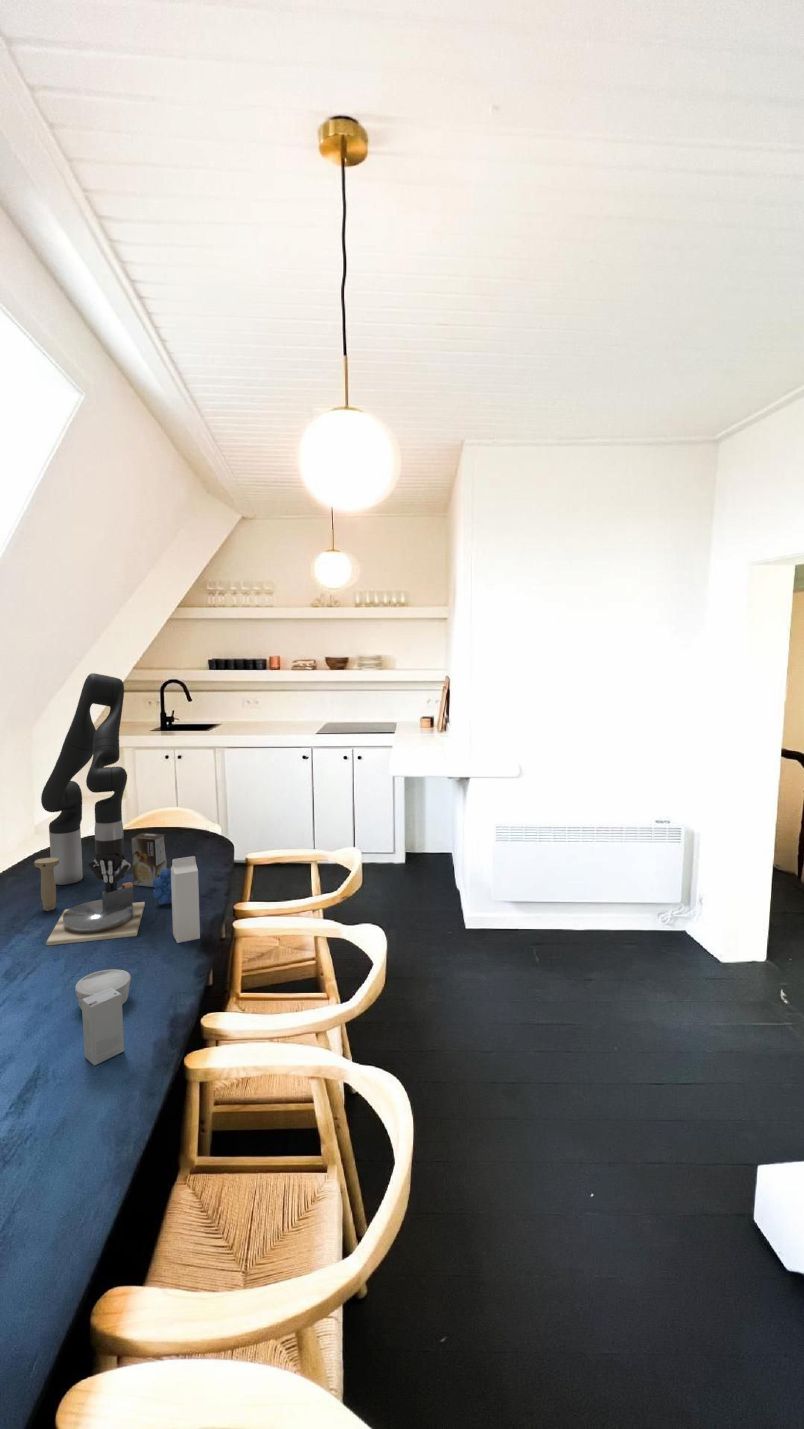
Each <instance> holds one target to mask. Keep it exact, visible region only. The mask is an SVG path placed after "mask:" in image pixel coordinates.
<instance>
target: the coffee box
mask: <svg viewBox="0 0 804 1429" xmlns="http://www.w3.org/2000/svg"><path fill="white" fill-rule="evenodd" d="M131 851H132V871H133V873H132V874H133V886H138V887H139V886H140V887H141V886H142V887H151V888H155V887H154V886H153V881H154V880H155V879H156V878H159V877H160V873H161V871H162V870H163V869H168V862H167V860H168V859H167V857H168V856H167V837H166V834H160V833H152V832H151V833H149V832H142V833H141V832H140V833H139V834H136V835H134V836H133V837H131Z"/></svg>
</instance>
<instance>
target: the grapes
mask: <svg viewBox="0 0 804 1429" xmlns="http://www.w3.org/2000/svg"><path fill="white" fill-rule="evenodd" d="M153 886H154V887H153V888H154V889H153V890H152V892H151V894H152V897H153V898H154V899H158V903H159V904H160V905H165V904H167V903H168V902H169V903H170V904H171V905H172V890H171V869H169V868H167V869H163V870H162V871H161V873H160V877H159V878H156V879H155V880H154V881H153Z"/></svg>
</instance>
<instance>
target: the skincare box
mask: <svg viewBox="0 0 804 1429" xmlns="http://www.w3.org/2000/svg"><path fill="white" fill-rule="evenodd" d="M81 1001H82V1009H81V1012H82V1030H83V1048H84V1058H86V1059H87V1060H88V1062H90V1063H91V1064H92V1065H93V1066H96V1065H99V1064H101V1063H103V1062H105V1061H106V1060H110V1059H111V1058H112V1057H115V1056H117V1055H119V1054H121V1053H123V1052H124V1051H125V1040H124V1039H125V1036H124V1035H125V1034H124V1020H123V1019H124V1016H123V1014H124V1013H123V1005H122V995H121V994H120V993H119V992H118V991H116V990H115V989H113V988H109V989H106V990H104V991H101V992H99V993H96V994H94V995H92V996H89V997H87V998H84V999H82V1000H81Z"/></svg>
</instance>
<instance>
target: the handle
mask: <svg viewBox="0 0 804 1429" xmlns="http://www.w3.org/2000/svg"><path fill="white" fill-rule="evenodd" d="M58 864H59V858H51V857H45V858H38V859H36V860H34V867H35V868H38V869H40V898H41V903H42V909H43V911H46V912H50V911H54V910H55V909H56V907H57V904H56V903H57V902H56V901H57V888H56V887H57V886H56V885H57V884H55V878H54V867H55V866H56V865H58Z"/></svg>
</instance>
